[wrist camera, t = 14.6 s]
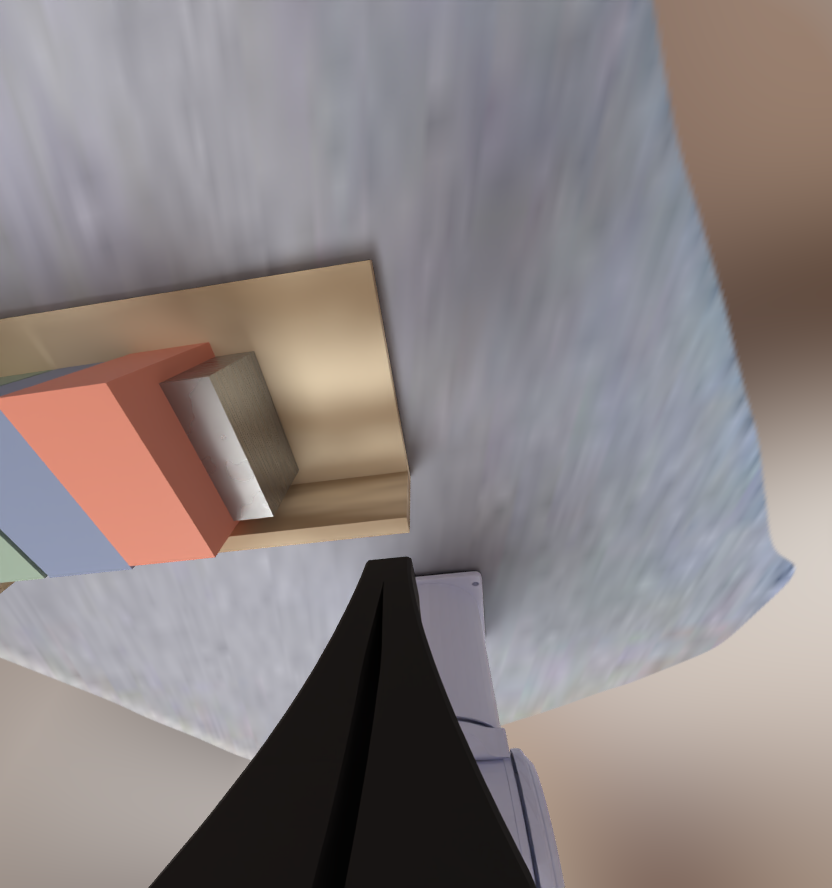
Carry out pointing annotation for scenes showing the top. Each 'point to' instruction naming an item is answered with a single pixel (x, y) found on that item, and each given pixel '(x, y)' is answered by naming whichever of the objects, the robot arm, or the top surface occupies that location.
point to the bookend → (235, 432)
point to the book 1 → (47, 505)
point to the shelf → (269, 385)
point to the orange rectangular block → (127, 454)
